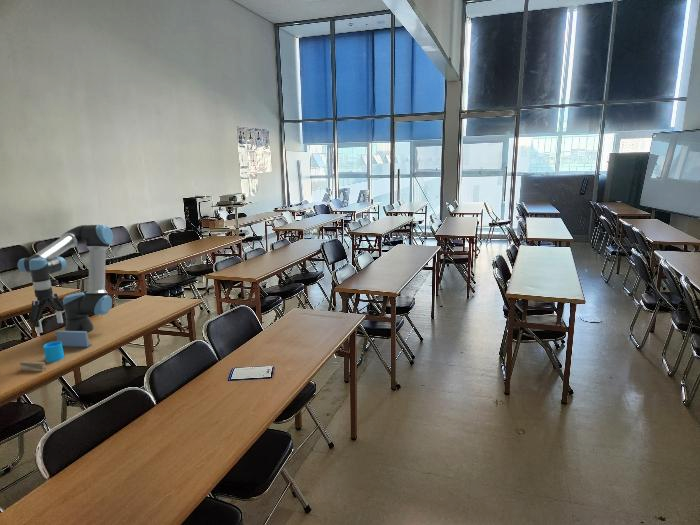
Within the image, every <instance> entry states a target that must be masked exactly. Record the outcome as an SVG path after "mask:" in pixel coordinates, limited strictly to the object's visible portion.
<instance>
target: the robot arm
mask: <svg viewBox="0 0 700 525" xmlns="http://www.w3.org/2000/svg"><path fill="white" fill-rule="evenodd" d="M113 241H114V234H113V231H112V229H111V228H110V226H108V225H107V224H81V225H78V226H75V227H73V228H71V229H69V230H67V231H65V232H64V233H62V234H61V237H60V238H57V240H55V241H53V242H52V243H50V244H48V245H47V246H45V247H44V248H42V249H41V250H39V251H38V252H36V253H35V254H33V255H31V256H30V257H24V258H21V259H19V260H18V262H17V269H18V271H20V272H22V273H28V274H30V276H31V281H32V285H33V286H32V287H33V289H34V296H35V297H36V299H37V300H32V301H31V310H30V316H29V319H28V320H29V321H30V322H33V324H34V327H35V329H36V334H37V333H39V334H41V333H44V331H43V326H42V322H41V321H42V320H41V319H40V318H41V316H42V313H43V311H44V309H45V308H46V307H48V306H51V307H52V308H53V309H54V310H56V311H54V312H55V316H56V322H57V324H64V320H63V311H64V315H65V327H64V331H87V333H89V332H91V331H93V330H94V328H95V327H94V324H93V322H92V321H91V319H90V317H89V316H103V315H106V314H108V313H109V311H111V309H112V306H113V299H112V297H111V296H110V295H109V293H108V291H107V290H106V261H107V260H106V258H107V257H106V255H107V252H106V251H107V250H108V249H109V245H110V244H112V243H113ZM80 245H81V246H82V245H86V248H87V249H88V251H89V252H88V257H89V258H88V260H89V261H88V290H87V291H86V292H82V291H81V292H79V291H78V292H75V293H71V294H68V295H66V296H64V297H63V298H62V301H61V299H60V298H59V296H58V293H54V291H53V288H52V282H51V276H50V275H51V274H54V273H57V272H61V271H62V270H65V269H66V268H67V266H68V265H67V264H68V263H67V260H66V259H65V258H64V257H62V256H60V255H62V254H64V253H65V252H67V251H68V250H70V249H71V248H73V249H74V248H75V247H78V246H80Z"/></svg>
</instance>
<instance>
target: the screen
mask: <svg viewBox="0 0 700 525" xmlns="http://www.w3.org/2000/svg"><path fill="white" fill-rule="evenodd" d="M55 336H56V341H60V342H62V346H63V348H81V349H83V348H85V349H87V348H89V347H91V346H93V343H90V340H89V337H88V336H89V335H88V332H87V331H65V330H56V331H55Z"/></svg>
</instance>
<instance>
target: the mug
mask: <svg viewBox="0 0 700 525" xmlns="http://www.w3.org/2000/svg"><path fill="white" fill-rule="evenodd" d="M43 352H44V357H45V362H46V363H55V362H59V361H62V360H63V359H64V358H65V353H64V347H63V346H62V342H60V341H57V340H56V341H55V340H54V341H50V342H48V343H45V344H44V345H43Z"/></svg>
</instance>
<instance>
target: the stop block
mask: <svg viewBox="0 0 700 525" xmlns="http://www.w3.org/2000/svg"><path fill="white" fill-rule="evenodd" d="M19 365H20V370H21V371H30V372H44V371H45V370H47V366H46V361H34V360H33V361H30V360H29V361H27V360H25V361H21V362H19Z"/></svg>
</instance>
